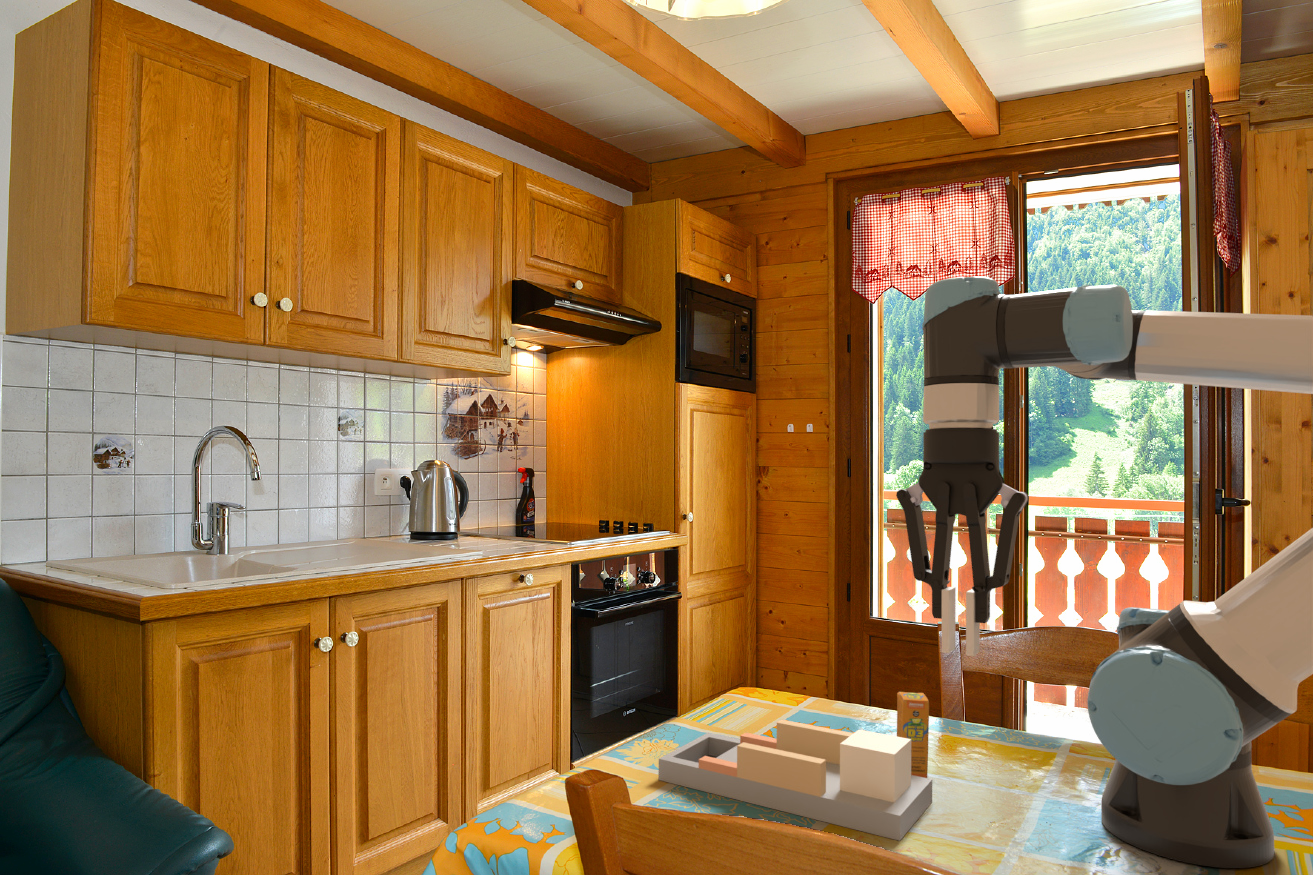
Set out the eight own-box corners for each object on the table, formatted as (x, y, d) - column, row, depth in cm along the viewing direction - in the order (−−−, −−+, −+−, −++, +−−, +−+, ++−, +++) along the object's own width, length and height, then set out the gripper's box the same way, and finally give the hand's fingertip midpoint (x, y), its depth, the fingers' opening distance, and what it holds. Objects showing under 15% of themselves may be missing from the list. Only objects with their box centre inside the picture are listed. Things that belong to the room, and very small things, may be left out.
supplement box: (900, 782, 101) (901, 698, 102) (895, 772, 105) (895, 690, 105) (929, 784, 101) (929, 699, 101) (923, 773, 105) (923, 691, 105)
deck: (932, 801, 96) (932, 747, 96) (900, 840, 86) (900, 780, 86) (707, 751, 112) (708, 705, 112) (658, 779, 102) (659, 729, 102)
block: (911, 784, 94) (911, 739, 94) (894, 802, 89) (894, 754, 89) (858, 773, 97) (858, 729, 98) (839, 789, 92) (840, 743, 93)
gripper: (1042, 427, 89) (1043, 654, 88) (901, 429, 97) (900, 637, 96) (1030, 424, 82) (1030, 669, 82) (880, 426, 90) (879, 649, 90)
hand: (960, 651), depth 89 cm, fingers open, 2 cm apart
